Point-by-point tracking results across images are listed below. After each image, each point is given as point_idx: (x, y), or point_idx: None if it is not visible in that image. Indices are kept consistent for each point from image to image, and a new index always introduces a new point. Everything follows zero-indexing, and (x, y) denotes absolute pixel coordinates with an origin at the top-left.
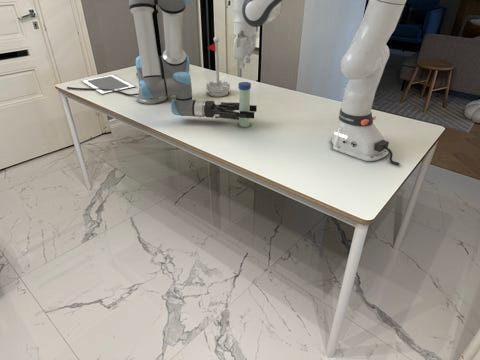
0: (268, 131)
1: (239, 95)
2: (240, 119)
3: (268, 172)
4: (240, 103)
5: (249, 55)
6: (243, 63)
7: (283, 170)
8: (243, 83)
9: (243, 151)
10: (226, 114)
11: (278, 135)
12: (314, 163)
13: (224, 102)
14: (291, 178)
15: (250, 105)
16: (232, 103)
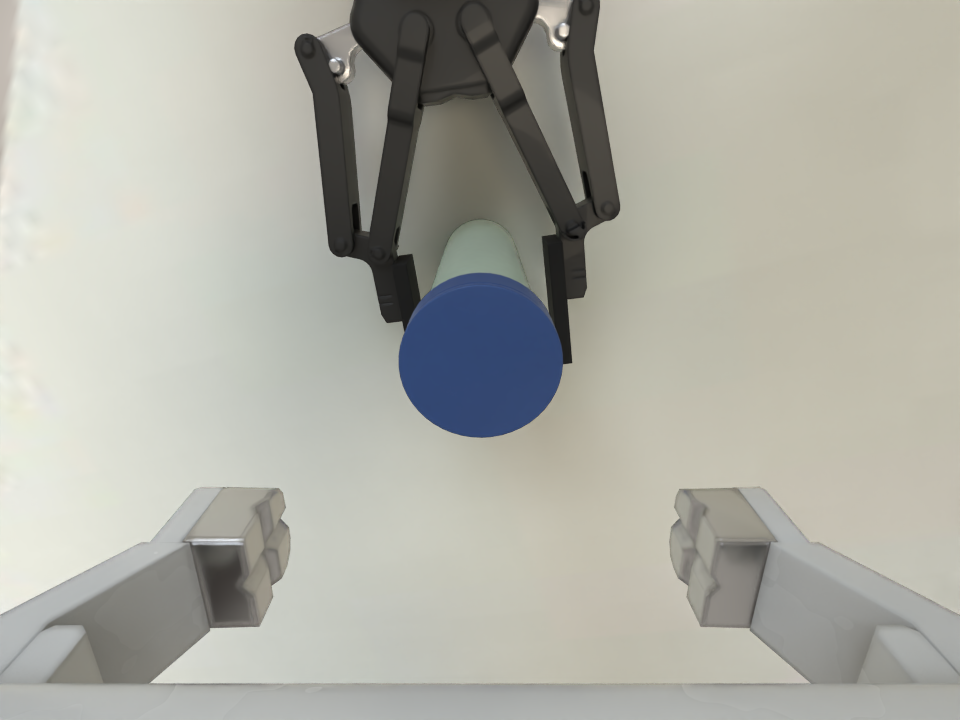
0: (431, 422)
1: (448, 273)
2: (447, 244)
3: (6, 511)
4: (438, 271)
5: (833, 673)
6: (168, 645)
7: (60, 561)
8: (486, 349)
9: (126, 355)
10: (323, 161)
11: (398, 481)
12: (186, 652)
13: (592, 33)
14: (20, 595)
15: (562, 314)
16: (581, 132)
